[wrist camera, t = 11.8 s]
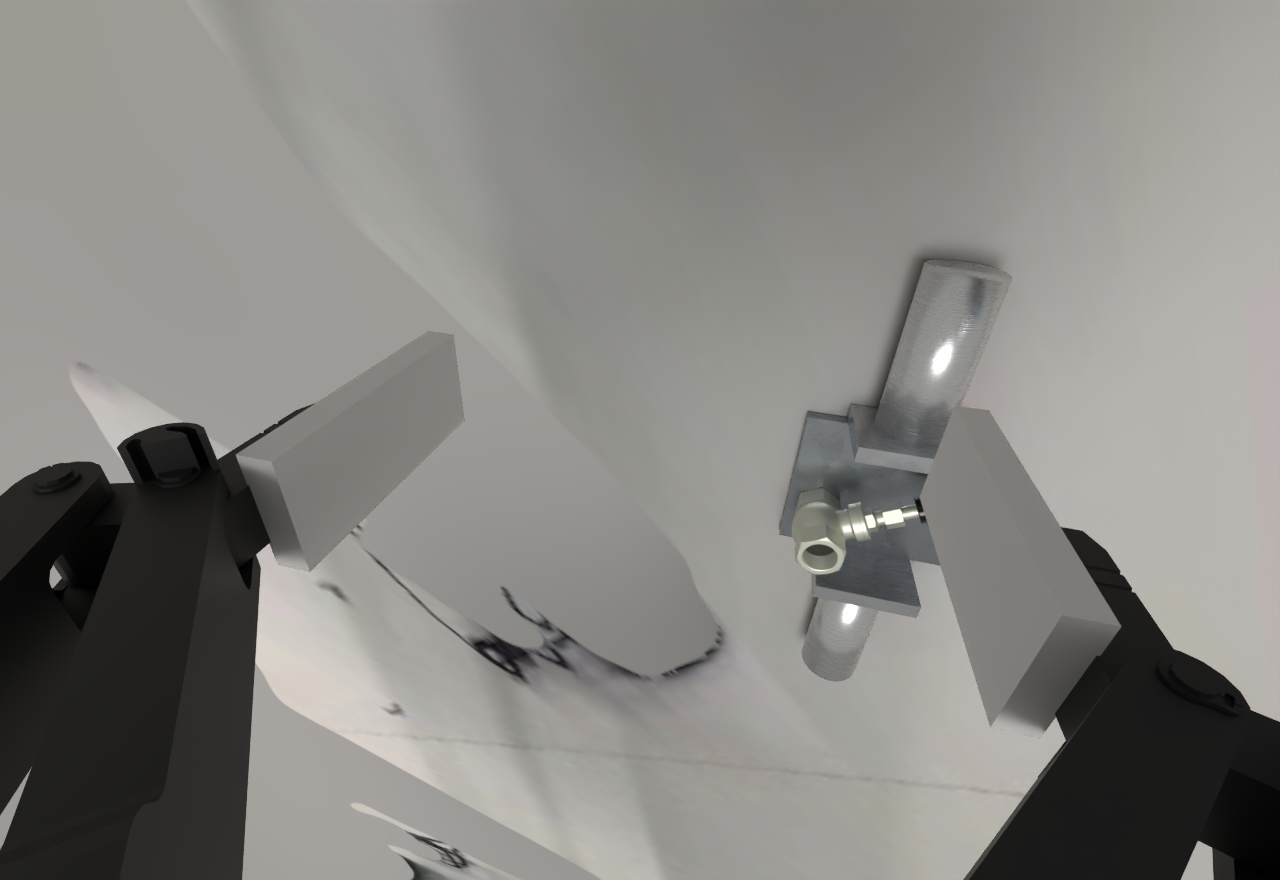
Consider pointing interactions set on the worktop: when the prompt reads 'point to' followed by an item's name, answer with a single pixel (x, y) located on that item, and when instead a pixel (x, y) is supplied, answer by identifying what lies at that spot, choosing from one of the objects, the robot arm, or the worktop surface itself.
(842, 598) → the pipe run
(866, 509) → the valve
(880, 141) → the worktop surface
